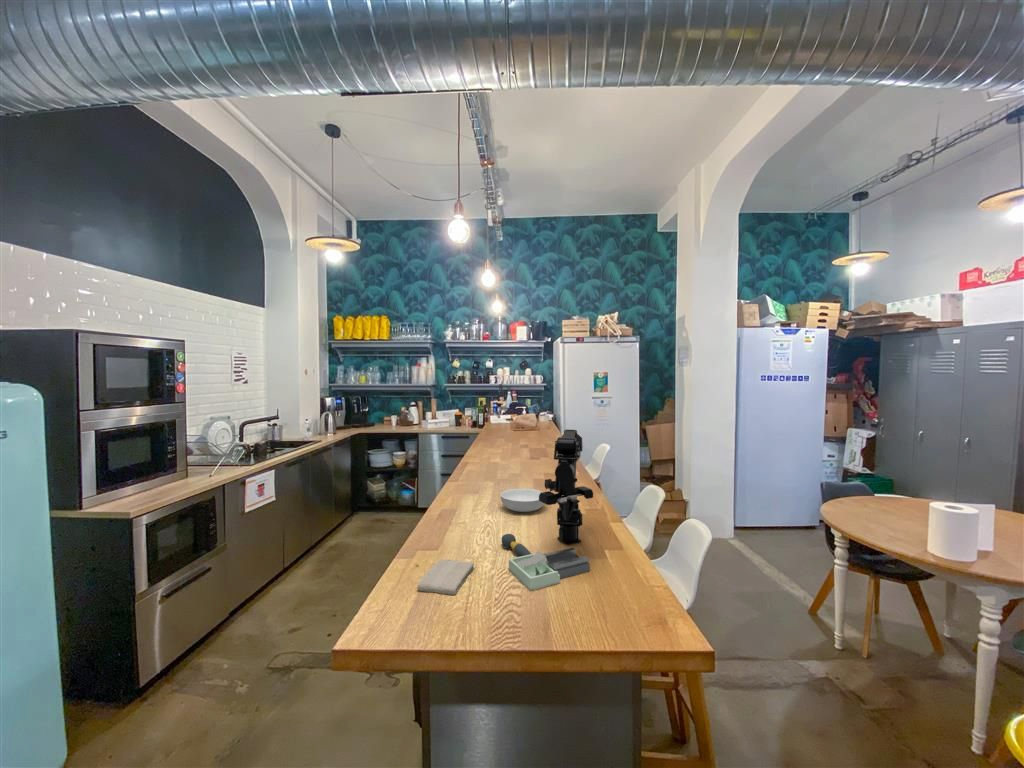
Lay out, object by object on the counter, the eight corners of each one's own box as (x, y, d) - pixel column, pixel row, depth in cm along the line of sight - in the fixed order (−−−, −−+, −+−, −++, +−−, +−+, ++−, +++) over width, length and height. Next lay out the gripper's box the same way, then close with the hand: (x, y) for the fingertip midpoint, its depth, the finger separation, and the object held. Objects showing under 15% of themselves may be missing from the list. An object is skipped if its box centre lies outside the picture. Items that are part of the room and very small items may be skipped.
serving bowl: (548, 517, 181) (548, 501, 181) (499, 516, 181) (499, 501, 181) (544, 502, 202) (544, 488, 202) (501, 502, 202) (501, 487, 202)
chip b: (528, 558, 130) (517, 561, 128) (535, 563, 126) (523, 566, 124) (529, 571, 130) (518, 574, 128) (535, 576, 126) (524, 580, 125)
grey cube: (543, 561, 132) (538, 551, 131) (550, 566, 129) (545, 556, 128) (533, 569, 131) (528, 559, 130) (540, 574, 127) (535, 564, 126)
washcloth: (475, 568, 134) (475, 559, 134) (456, 598, 117) (456, 587, 116) (440, 565, 137) (440, 555, 137) (416, 593, 119) (416, 582, 119)
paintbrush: (541, 561, 139) (541, 546, 138) (530, 565, 136) (530, 550, 135) (506, 542, 154) (506, 528, 154) (495, 545, 151) (495, 531, 151)
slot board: (571, 558, 140) (571, 546, 140) (589, 571, 131) (589, 558, 131) (540, 566, 135) (540, 553, 135) (557, 579, 126) (557, 566, 126)
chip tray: (536, 563, 136) (536, 553, 136) (559, 582, 124) (559, 571, 124) (508, 570, 132) (508, 559, 132) (530, 590, 119) (530, 578, 119)
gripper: (575, 467, 153) (575, 509, 154) (530, 472, 145) (530, 517, 145) (594, 473, 143) (594, 518, 144) (547, 479, 135) (547, 527, 136)
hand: (566, 520), depth 142 cm, fingers closed
